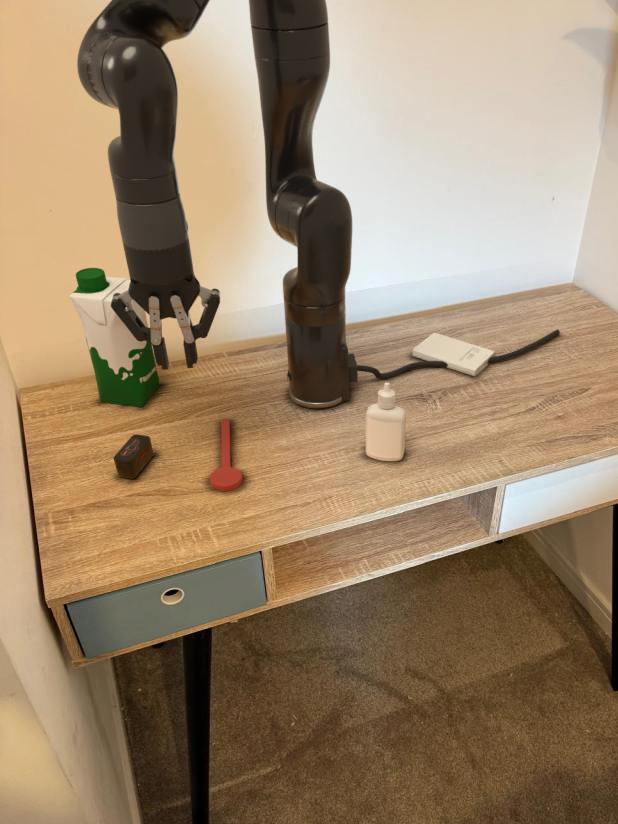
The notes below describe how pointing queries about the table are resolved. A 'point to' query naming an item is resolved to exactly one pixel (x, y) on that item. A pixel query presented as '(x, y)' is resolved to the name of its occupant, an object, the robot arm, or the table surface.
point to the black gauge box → (133, 456)
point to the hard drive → (454, 353)
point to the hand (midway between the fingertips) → (178, 365)
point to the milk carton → (114, 341)
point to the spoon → (225, 464)
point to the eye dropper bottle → (385, 427)
